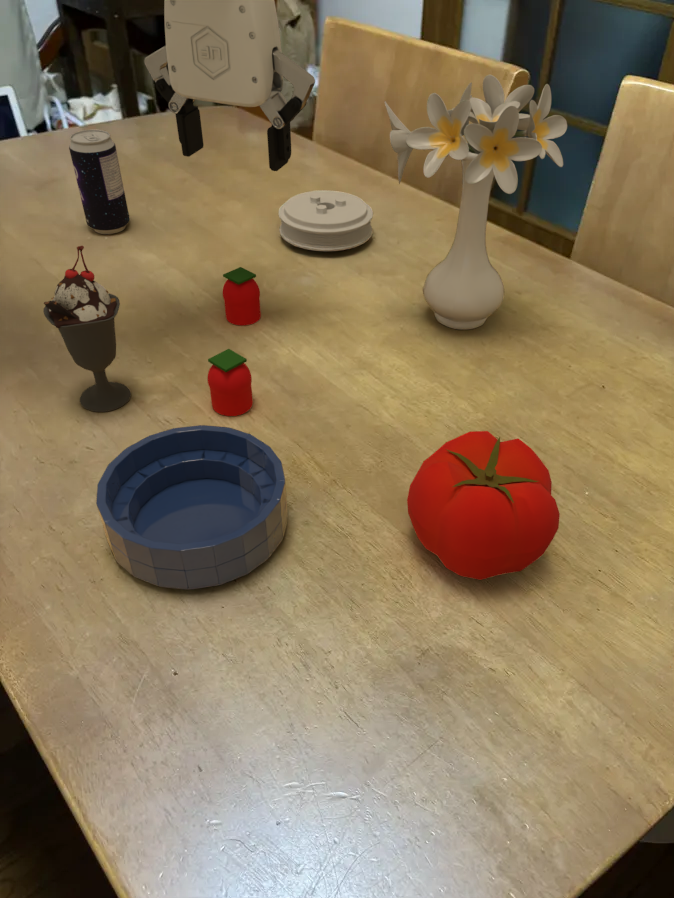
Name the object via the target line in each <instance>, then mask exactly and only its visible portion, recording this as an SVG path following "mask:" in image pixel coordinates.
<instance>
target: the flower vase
mask: <svg viewBox="0 0 674 898" xmlns="http://www.w3.org/2000/svg"><path fill="white" fill-rule="evenodd" d="M482 80H483V81H482V92H483V96H484V100H483V99H481V98H478V97H474V96H473V95H472V87H473V82H469V83H468V85H467V86H466V88H465V89H464V90H463V93H462V95H461V97H460V100H459V102H458V103H457V104H456V106H455V107H452V108H451V109H448V108H447V106H446V104H445V102H444V100H443V99H442V97H441V96H440V95H439V94H438V93H436V92H432V93H431V94H429V96H428V98H427V101H426V112H427V117H428V120H429V122H430V124H431V125H432V127H430V126H423V127H422V126H421V127H418V128H415V129H413V130H412V131H410V129H409V128H408V127H407V126H406V125H405V124H404V123H403V122H402V120H401V119H399V117H398V116H397V115H396V114H395V112H394V111H393V110H392V108H391V107H390V106H389V104H388V102H387V101H386V100H385V101H384V105H385V108H386V109H385V110H386V112H387V115H388V118H389V125H390V129H391V130H390V132H389V141H390V146H391V148H392V150H393V152H394V153H396V154H397V177H398V178H397V179H398V185H400V184H401V182H402V178H403V175H404V171H405V169H406V166H407V163H408V161H409V158H410V156H411V154H412V152H413V150H420V151H422V150H423V151H426V150H431V151H429V153H428V154H427V155H426V157H425V160H424V162H423V176H424V177H425V178H428V179H429V178H432V177H433V176H434V175H435V174H436V173H437V172H438V171H439V169H440V167H441V166H442V164H443V162H444V161H445V159H446V158H447V157H448V156H449V157H450V158H451V159H453V160H456V161H460V163H461V177H462V178H461V194H460V195H461V196H460V203H459V210H458V217H457V224H456V229H455V234H454V239H453V241H452V244H451V246H450V249H449V250H448V252H447V254H446V256H445V257H444V258H443V260H441V261H439V262H438V263H437V264H436V265H435V266H434V267H433V268H432V269H431V270H430V271H429V272H428V274H427V275H426V277H425V280H424V284H423V287H422V294H423V299H424V300H425V302H426V304H427V306H428V307H429V308H430V309H431V310H432V311H433V314H434V318H435V319H436V321H437V322H438V323H440V324H441V325H443V326H445V327H447V328H450V329H454V330H460V331H461V330H462V331H465V330H466V331H467V330H474V329H476V328H477V329H478V328H479V327H481V326H482V325H484V324H485V322H486V321H487V320H488V318H489V317H490V316H492V315H493V314H495V312H497V311H498V309H499V308H500V307H501V305H502V304H503V302H504V298H505V285H504V282H503V279H502V277H501V275H500V273H499V272H498V270H497V269H496V268H495V267H494V265H493V264H492V263H491V261H490V259H489V255H488V251H487V239H486V238H487V224H488V223H487V222H488V212H489V205H490V204H489V203H490V196H491V190H492V186H493V182H494V179H495V181H496V183H497V186H499V188H500V189H501V190H502V191H503V192H504V193H505V194H508V195H511V194H514V193H515V192H516V190H517V188H518V182H519V179H518V177H519V176H518V171H517V168H516V165H515V163H514V162H513V161H515V162H526V161H530V160H533V159H535V158H537V157H539V158H540V159H541V160H543V159H545V157H546V155H547V156H548V157H549V158H550V160H551V161H552V162H553V163H555V164H556V166H558V167H559V168H563V166H564V159H563V155H562V152H561V149H560V147H559V146H558V145H557V144H556V142H554V141H553V139H558V138H560V137H562V136H563V135H565V133H566V132H567V129H568V121H567V119H566V118H565V117H564V116H562V115H560V114H553V115H551V116H548V115H549V113H550V110H551V107H552V91H551V87H550V84H548V83H546V84H545V85H544V86H543V89H542V91H541V94H540V97H539V100H538V103H536V101H535V100H534V99H533V97H534V94H535V88H534V86H533V85H532V84H523V85H520V86H518V87H516V88H515V89H514V90H513V91H511V92H510V93H509V94H508V95H507V96H506V99H505V92H504V88H503V86H502V84H501V82H500V80H499V79H498V78H497V77H496V76H494V75H492V74H487V75H485V76H484V78H483V79H482ZM528 104H529V105H528ZM527 105H528V106H529V113H520V112H521V110H522V109H524V108H525V107H526V106H527ZM547 116H548V117H547ZM470 122H471V123H470Z"/></svg>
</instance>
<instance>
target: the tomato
mask: <svg viewBox="0 0 674 898" xmlns="http://www.w3.org/2000/svg"><path fill="white" fill-rule="evenodd" d="M552 481H553V480H552V478H551V473H550V470H549V469H548V467H547V466H546V465H545V463H544V462H543V461H542V460H541V458H540V457H539V456H538V454H537V453H536V452H535V451H534V450H533V448H531V447H530V446H529V445H527V444H526V443H525V442H524V441H523V440H521V439H520V438H512V439H508V440H504V441H503V440H502V441H501V436H499V437H498V438H497V437H496V436H495V435H493V434H492V433H491V432H490V431H488V430H478V431H477V430H476V431H475V430H473V431H468V432H465V433H463V434H461V435H459V436H457V437H454V438H452V439H450V440H448V441H446V442H445V443H444V444H442V445H441V446H440V447H439V448H438V449H437V450H435V452H433V453H432V454H431V455H430V456H428V457H427V458H426V459H425V460H423V462H422V463H421V465H420V467H419V469H418V471H417V472H416V474H415V476H414V478H413V479H412V481H411V483H410V485H409V489H408V492H407V499H406V505H407V514H408V517H409V520H410V523H411V525H412V527H413V530H414V532H415V535H416V537H417V539H418V540H419V542H420V543H421V544H422V546H423V547H424V548H425V550H428V551H429V552H430V553H432V554H434V555H435V556H437V558H438V559H439V561H440V562H441V564H443V566H444V567H445V568H446V569H448V570H449V571H451V572H453V573H454V574H456V575H458V576H460V577H465V578H469V579H475V580H480V581H481V580H486V579H490V578H494V577H497V576H501V575H505V574H506V575H507V574H511V573H513V574H514V573H517V572H522V571H523V570H525V569H526V568H528V567H529V566H530V565H532V564H534V562H536V561H538V560H539V559H540V558H541V557H542V556H544V554H545V553H546V551H547V549H549V547H550V545H551V543H552V542H553V540H554V538H555V536H556V534H557V532H558V531H559V529H560V528H559V527H560V516H561V514H560V510H559V507H558V503H557V501H556V499H555V497H554V496H553V495H552V488H553V487H552V486H553V484H552Z"/></svg>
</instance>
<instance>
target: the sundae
mask: <svg viewBox="0 0 674 898" xmlns="http://www.w3.org/2000/svg"><path fill="white" fill-rule="evenodd" d="M84 249H85V246H84V245H78V246H76V250H77V259H76V261H75V263H74V265H73V267H72V268H68V269H66V270H65V271H64V277H63V278H62V279H61V280H60V281H59V282H58V284H57V285H56V287H55V289H54V296H53V297H51V299H50V300H48V301H43V304H44V307H43V316H44V317H45V318H46V320H47V321H48V322H49V323H50V324H51V325H53V326H54V327H55V328H56V329H57V330H58V332H59V334H60V337H61V338H62V340H63V342H64V345H65V347H66V350H67V351H68V353H69V355H70V357H71V359H72V360H73V362H74V364H75V365H77V366H78V367H79V368H81V369H83V370H86V371H90V372H91V373H92V374H93V378H94V384H93V385H91V386H89V387H87V388H86V389H84V390H83V391H82V393H81V394H80V396H79V404H80V405H81V407H83V408H84V409H86V410H87V411H91V412H95V413H106V412H111V411H115V410H117V409H120V408H121V407H123V406H125V405H126V404H127V403H128V402H129V401H130V399H131V397H132V392H131V389H130V387H128V386H127V385H125V384H124V383H121V382H117V381H109V380H108V377H107V374H106V373H107V372H106V369H107V368H109V366H111V364H112V363H113V362H114V360H115V359H116V356H117V336H116V327H115V326H116V325H115V318H116V316H117V314H118V313H119V310H120V306H121V302H120V298H119V297H118V296H117V295H115V294H112V293H109V290H107V289H106V287H105V286H103V285H102V284H101V283H99V282H98V281H96V280H95V273H94V272H92V271H91V270H89V269H88V267H87V264H86V261H85V259H84V255H83V250H84ZM80 256H81V261H82V263H83V266H84V267H83V268H84V270H82V271H81V272H80V273H79V271H78V270H76V267H77V264H78V262H79V259H80Z"/></svg>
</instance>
